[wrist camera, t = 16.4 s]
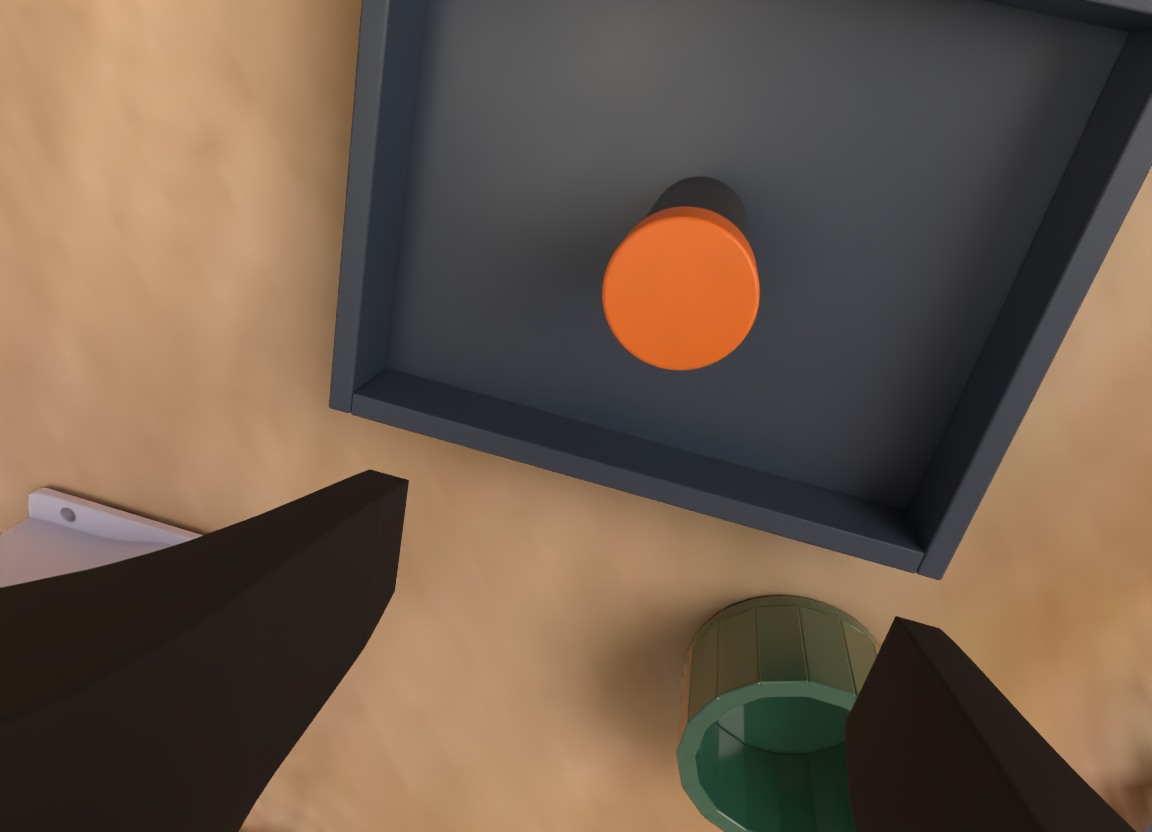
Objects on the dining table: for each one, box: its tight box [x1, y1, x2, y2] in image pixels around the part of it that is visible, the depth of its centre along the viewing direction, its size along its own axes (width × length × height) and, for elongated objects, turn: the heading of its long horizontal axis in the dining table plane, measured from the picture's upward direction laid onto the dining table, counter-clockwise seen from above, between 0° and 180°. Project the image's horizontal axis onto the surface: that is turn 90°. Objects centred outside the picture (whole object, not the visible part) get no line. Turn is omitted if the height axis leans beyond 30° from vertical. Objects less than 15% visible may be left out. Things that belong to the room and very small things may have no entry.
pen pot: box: [676, 596, 880, 832], centre depth 21 cm, size 6×6×4 cm
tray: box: [329, 0, 1152, 580], centre depth 17 cm, size 15×12×2 cm
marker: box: [602, 177, 760, 370], centre depth 14 cm, size 2×2×7 cm
